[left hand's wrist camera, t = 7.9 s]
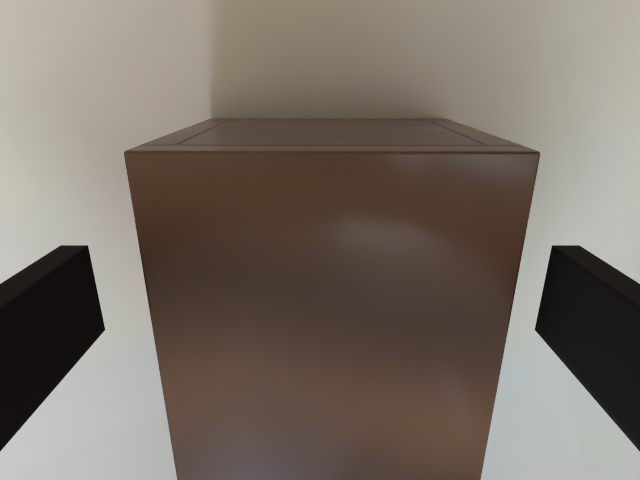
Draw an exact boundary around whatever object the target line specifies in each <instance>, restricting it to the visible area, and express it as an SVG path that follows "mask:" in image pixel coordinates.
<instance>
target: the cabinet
mask: <svg viewBox="0 0 640 480" xmlns="http://www.w3.org/2000/svg"><path fill="white" fill-rule="evenodd" d="M124 156H125V162H126V168H127V174H128V180H129V186H130V192H131V199H132V205H133V211H134V217H135V223H136V229H137V235H138V241H139V247H140V254H141V260H142V266H143V272H144V278H145V284H146V290H147V296H148V302H149V309H150V315H151V321H152V327H153V333H154V339H155V345H156V351H157V357H158V364H159V370H160V376H161V382H162V388H163V394H164V400H165V406H166V412H167V419H168V425H169V431H170V437H171V443H172V449H173V455H174V461H175V467H176V474H177V480H480V478H481V473H482V468H483V462H484V457H485V451H486V446H487V440H488V435H489V430H490V424H491V419H492V413H493V408H494V402H495V397H496V391H497V386H498V381H499V375H500V370H501V364H502V359H503V353H504V348H505V343H506V337H507V332H508V326H509V321H510V315H511V310H512V304H513V299H514V294H515V288H516V283H517V277H518V272H519V266H520V261H521V256H522V250H523V245H524V239H525V234H526V228H527V223H528V217H529V212H530V207H531V201H532V196H533V190H534V185H535V179H536V174H537V169H538V163H539V158H540V152H538V151H536V150H533V149H530V148H527V147H524V146H521V145H519V144H516V143H513V142H510V141H507V140H505V139H502V138H499V137H496V136H493V135H490V134H488V133H485V132H482V131H479V130H476V129H473V128H471V127H468V126H465V125H462V124H459V123H456V122H453V121H451V120H448V119H209V120H206V121H204V122H201V123H198V124H196V125H193V126H190V127H188V128H185V129H182V130H180V131H177V132H174V133H172V134H169V135H166V136H164V137H161V138H158V139H156V140H153V141H150V142H148V143H145V144H142V145H140V146H137V147H135V148H132V149H129V150H127V151H125V152H124Z"/></svg>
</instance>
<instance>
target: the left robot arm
mask: <svg viewBox="0 0 640 480" xmlns="http://www.w3.org/2000/svg"><path fill="white" fill-rule="evenodd" d="M104 330H105V327H104V322H103V317H102V312H101V308H100V303H99V298H98V293H97V288H96V283H95V278H94V273H93V268H92V264H91V259H90V254H89V249H88V246H59V247H58V248H56V249H55V250H53V251H51V252H50V253H48V254H47V255H45V256H44V257H42V258H40V259H39V260H37V261H36V262H34V263H33V264H31V265H29V266H28V267H26V268H25V269H23V270H22V271H20V272H18V273H17V274H15V275H14V276H12V277H11V278H9V279H7V280H6V281H4V282H3V283H1V284H0V451H1V450H2V449H3V448H4V446H5V445H6V444H7V443H8V442H9V441H10V439H11V438H12V437H13V436H14V435H15V434H16V432H17V431H18V430H19V429H20V428H21V427H22V425H23V424H24V423H25V422H26V421H27V420H28V419H29V417H30V416H31V415H32V414H33V413H34V412H35V410H36V409H37V408H38V407H39V406H40V405H41V403H42V402H43V401H44V400H45V399H46V398H47V396H48V395H49V394H50V393H51V392H52V391H53V390H54V388H55V387H56V386H57V385H58V384H59V383H60V381H61V380H62V379H63V378H64V377H65V376H66V374H67V373H68V372H69V371H70V370H71V369H72V368H73V366H74V365H75V364H76V363H77V362H78V361H79V359H80V358H81V357H82V356H83V355H84V354H85V352H86V351H87V350H88V349H89V348H90V347H91V345H92V344H93V343H94V342H95V341H96V340H97V339H98V337H99V336H100V335H101V334H102V333H103V332H104ZM535 330H536V332H537V333H538V334H539V335H540V336H541V337H542V339H543V340H544V341H545V342H546V343H547V344H548V345H549V347H550V348H551V349H552V350H553V351H554V352H555V354H556V355H557V356H558V357H559V358H560V359H561V361H562V362H563V363H564V364H565V365H566V366H567V368H568V369H569V370H570V371H571V372H572V373H573V374H574V376H575V377H576V378H577V379H578V380H579V381H580V383H581V384H582V385H583V386H584V387H585V388H586V390H587V391H588V392H589V393H590V394H591V395H592V396H593V398H594V399H595V400H596V401H597V402H598V403H599V405H600V406H601V407H602V408H603V409H604V410H605V412H606V413H607V414H608V415H609V416H610V417H611V419H612V420H613V421H614V422H615V423H616V424H617V425H618V427H619V428H620V429H621V430H622V431H623V432H624V434H625V435H626V436H627V437H628V438H629V439H630V441H631V442H632V443H633V444H634V445H635V446H636V448H637V449H638V450H639V451H640V284H639V283H637V282H636V281H634V280H633V279H631V278H629V277H628V276H626V275H625V274H623V273H622V272H620V271H618V270H617V269H615V268H614V267H612V266H611V265H609V264H607V263H606V262H604V261H603V260H601V259H600V258H598V257H596V256H595V255H593V254H592V253H590V252H589V251H587V250H585V249H584V248H582V247H581V246H552V249H551V254H550V259H549V264H548V268H547V273H546V278H545V283H544V288H543V293H542V298H541V303H540V308H539V312H538V317H537V322H536V327H535Z"/></svg>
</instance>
